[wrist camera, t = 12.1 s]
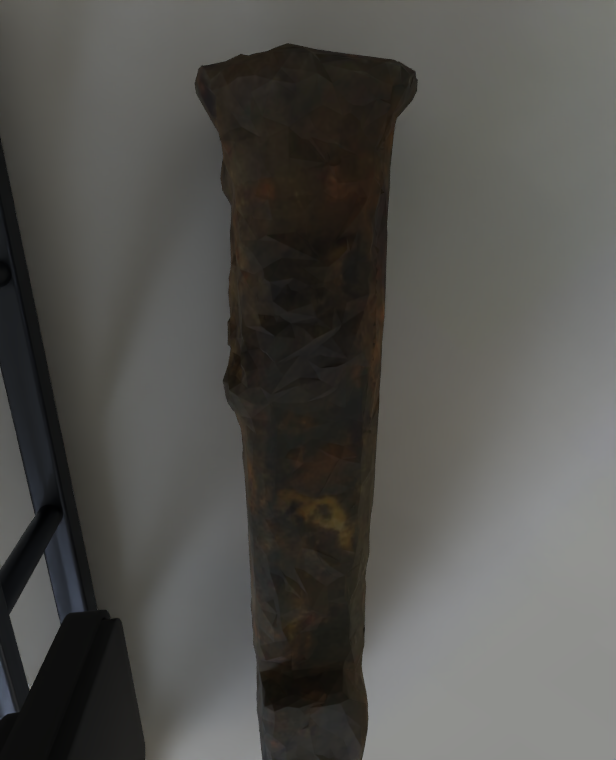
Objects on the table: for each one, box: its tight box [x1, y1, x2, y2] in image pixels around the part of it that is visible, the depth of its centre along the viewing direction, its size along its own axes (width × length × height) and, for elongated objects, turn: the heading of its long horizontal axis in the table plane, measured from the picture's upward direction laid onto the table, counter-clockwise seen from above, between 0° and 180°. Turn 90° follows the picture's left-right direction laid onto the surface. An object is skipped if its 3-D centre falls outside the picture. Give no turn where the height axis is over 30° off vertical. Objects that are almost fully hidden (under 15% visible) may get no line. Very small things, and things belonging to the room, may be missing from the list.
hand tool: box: [195, 43, 418, 760], centre depth 13 cm, size 19×4×5 cm, turn 177°
